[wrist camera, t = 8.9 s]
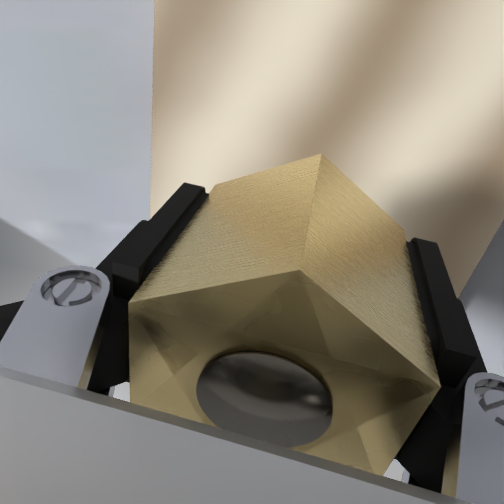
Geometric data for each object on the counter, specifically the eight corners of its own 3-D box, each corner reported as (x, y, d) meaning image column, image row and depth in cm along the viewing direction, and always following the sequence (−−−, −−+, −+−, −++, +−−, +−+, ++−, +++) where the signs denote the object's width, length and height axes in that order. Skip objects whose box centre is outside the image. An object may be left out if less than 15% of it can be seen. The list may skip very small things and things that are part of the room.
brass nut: (426, 177, 9) (489, 322, 5) (353, 346, 13) (355, 523, 8) (221, 130, 10) (123, 229, 6) (201, 306, 13) (128, 454, 9)
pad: (605, 11, 12) (624, 12, 11) (423, 337, 20) (426, 351, 19) (168, -69, 13) (155, -74, 13) (156, 266, 21) (148, 276, 20)
